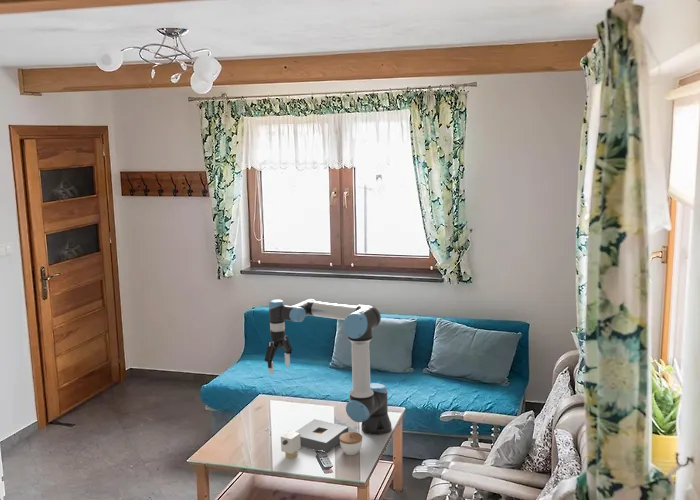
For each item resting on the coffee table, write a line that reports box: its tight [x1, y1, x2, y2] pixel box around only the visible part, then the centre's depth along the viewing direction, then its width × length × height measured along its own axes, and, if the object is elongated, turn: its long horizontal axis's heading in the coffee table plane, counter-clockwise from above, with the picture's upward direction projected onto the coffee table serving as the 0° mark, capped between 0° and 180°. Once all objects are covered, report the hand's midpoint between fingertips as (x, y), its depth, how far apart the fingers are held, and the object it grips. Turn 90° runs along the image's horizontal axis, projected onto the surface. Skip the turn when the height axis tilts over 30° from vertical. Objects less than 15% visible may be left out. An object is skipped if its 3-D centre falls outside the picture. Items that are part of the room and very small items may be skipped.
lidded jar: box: [339, 431, 363, 456], centre depth 325 cm, size 11×11×9 cm
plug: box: [280, 430, 302, 459], centre depth 322 cm, size 6×9×10 cm
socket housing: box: [295, 418, 349, 453], centre depth 339 cm, size 20×20×5 cm
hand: (279, 369), depth 359 cm, fingers open, 13 cm apart
